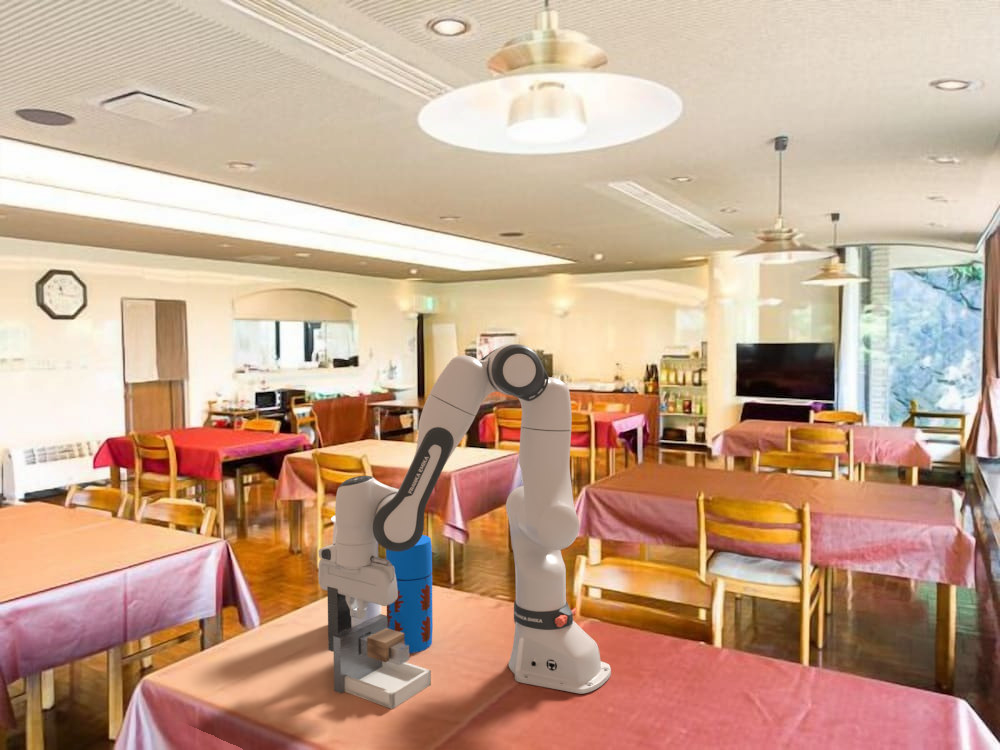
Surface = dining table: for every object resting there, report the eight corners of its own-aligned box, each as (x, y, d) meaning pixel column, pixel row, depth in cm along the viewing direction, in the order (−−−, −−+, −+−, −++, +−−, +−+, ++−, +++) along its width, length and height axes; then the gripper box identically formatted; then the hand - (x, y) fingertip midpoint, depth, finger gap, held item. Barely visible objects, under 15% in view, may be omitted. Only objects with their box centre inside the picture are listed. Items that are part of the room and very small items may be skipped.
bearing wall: (388, 667, 156) (387, 615, 155) (341, 693, 144) (340, 638, 144) (381, 664, 157) (380, 614, 156) (334, 690, 145) (333, 636, 145)
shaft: (410, 665, 145) (410, 599, 145) (397, 673, 142) (397, 605, 141) (342, 643, 156) (341, 581, 156) (328, 650, 153) (327, 586, 152)
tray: (430, 684, 148) (430, 670, 148) (392, 709, 138) (391, 694, 138) (384, 668, 155) (384, 655, 155) (344, 691, 145) (344, 677, 145)
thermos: (427, 631, 175) (426, 532, 174) (437, 649, 165) (436, 543, 163) (383, 637, 171) (382, 536, 170) (390, 656, 161) (389, 548, 160)
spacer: (404, 652, 147) (404, 633, 147) (385, 662, 142) (385, 643, 142) (386, 646, 150) (386, 627, 150) (367, 656, 145) (367, 637, 145)
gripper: (404, 557, 147) (404, 622, 147) (334, 542, 158) (335, 603, 158) (383, 565, 141) (383, 632, 142) (313, 549, 153) (313, 611, 153)
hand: (357, 617), depth 150 cm, fingers closed
